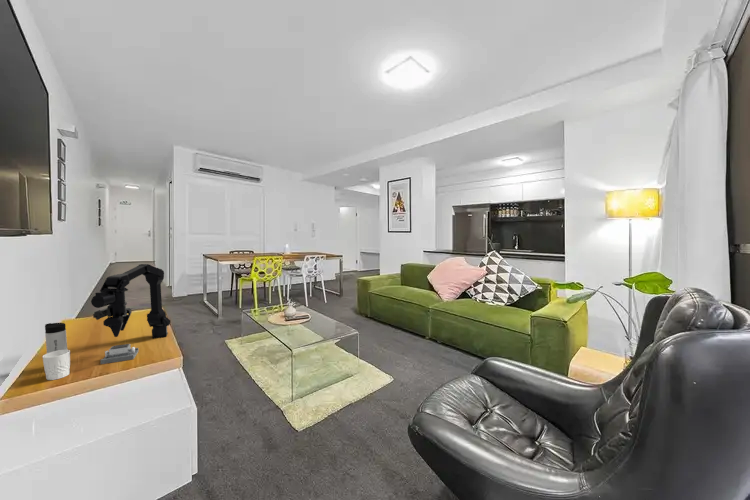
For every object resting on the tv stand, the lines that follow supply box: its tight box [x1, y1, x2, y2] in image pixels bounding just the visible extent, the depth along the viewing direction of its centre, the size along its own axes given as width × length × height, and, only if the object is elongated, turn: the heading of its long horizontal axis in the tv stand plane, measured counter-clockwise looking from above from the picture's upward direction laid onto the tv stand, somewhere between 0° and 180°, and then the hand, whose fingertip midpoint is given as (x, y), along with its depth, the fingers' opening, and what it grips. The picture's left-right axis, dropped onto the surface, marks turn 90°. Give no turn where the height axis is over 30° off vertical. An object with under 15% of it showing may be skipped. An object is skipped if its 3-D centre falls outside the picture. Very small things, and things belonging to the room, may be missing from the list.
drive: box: [108, 343, 132, 358], centre depth 142 cm, size 7×4×4 cm, turn 118°
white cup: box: [42, 349, 71, 381], centre depth 124 cm, size 8×8×10 cm
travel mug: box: [44, 322, 68, 354], centre depth 132 cm, size 6×7×20 cm
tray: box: [100, 346, 139, 365], centre depth 142 cm, size 12×10×4 cm
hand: (119, 333), depth 142 cm, fingers open, 9 cm apart
